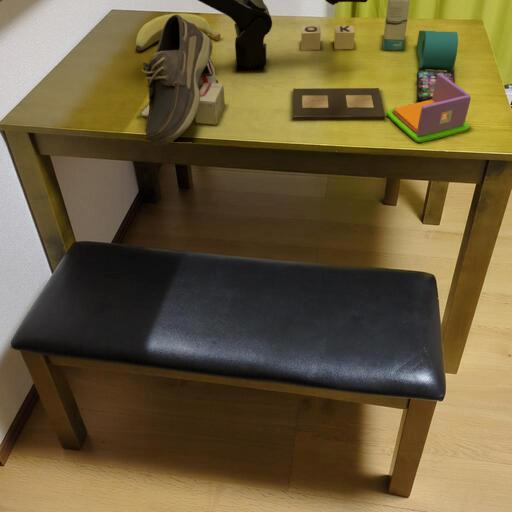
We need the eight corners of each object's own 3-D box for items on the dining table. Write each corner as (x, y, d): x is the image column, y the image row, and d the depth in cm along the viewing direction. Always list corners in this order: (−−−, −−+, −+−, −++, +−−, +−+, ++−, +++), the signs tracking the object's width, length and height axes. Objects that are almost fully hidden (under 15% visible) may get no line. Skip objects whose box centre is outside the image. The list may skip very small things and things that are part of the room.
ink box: (403, 51, 137) (410, -1, 129) (382, 50, 138) (388, -2, 130) (403, 36, 144) (410, -13, 136) (383, 36, 144) (389, -14, 136)
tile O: (301, 49, 140) (301, 32, 137) (301, 42, 143) (301, 25, 140) (320, 49, 140) (320, 32, 137) (319, 42, 143) (320, 25, 140)
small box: (203, 81, 118) (193, 100, 112) (223, 83, 117) (214, 101, 111) (205, 104, 121) (195, 123, 115) (225, 106, 120) (216, 125, 115)
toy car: (211, 63, 136) (208, 31, 131) (221, 99, 123) (218, 64, 118) (178, 66, 135) (174, 34, 130) (184, 102, 122) (180, 68, 117)
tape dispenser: (421, 74, 128) (426, 39, 123) (416, 46, 139) (421, 13, 134) (452, 75, 127) (459, 40, 122) (445, 47, 138) (451, 14, 133)
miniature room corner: (471, 129, 110) (480, 97, 105) (417, 144, 107) (424, 110, 102) (435, 101, 118) (441, 69, 113) (383, 113, 115) (388, 81, 110)
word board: (292, 120, 115) (292, 116, 115) (293, 91, 124) (293, 88, 123) (384, 119, 114) (385, 115, 113) (378, 91, 123) (378, 87, 122)
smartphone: (416, 99, 117) (417, 67, 128) (415, 103, 118) (416, 71, 129) (456, 102, 116) (454, 69, 127) (455, 106, 117) (453, 73, 127)
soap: (157, 119, 117) (156, 115, 116) (137, 117, 118) (136, 113, 118) (176, 97, 124) (176, 93, 123) (157, 95, 125) (156, 91, 124)
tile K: (334, 49, 139) (335, 32, 137) (333, 42, 143) (334, 25, 140) (353, 49, 139) (355, 32, 136) (352, 41, 142) (353, 24, 140)
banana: (144, 3, 146) (223, 13, 146) (146, 22, 151) (223, 32, 151) (132, 38, 139) (215, 48, 139) (135, 57, 144) (215, 67, 143)
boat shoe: (151, 162, 110) (108, 128, 103) (179, 57, 125) (143, 20, 118) (193, 143, 104) (150, 105, 97) (217, 34, 119) (182, -5, 112)
